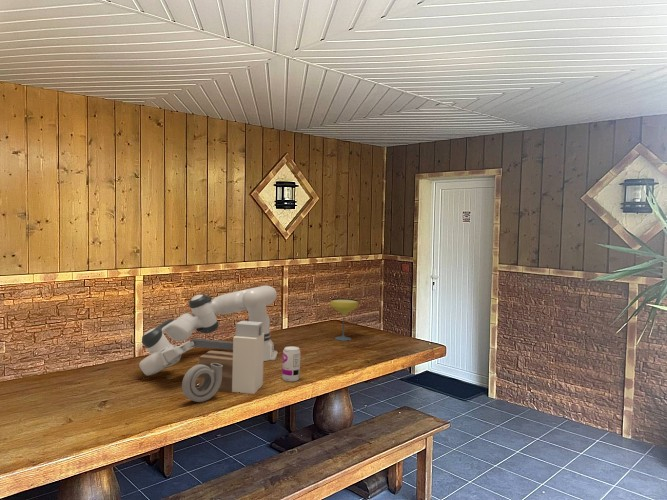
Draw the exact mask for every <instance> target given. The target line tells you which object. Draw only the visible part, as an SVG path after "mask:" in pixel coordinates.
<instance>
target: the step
mask: <svg viewBox="0 0 667 500" xmlns="http://www.w3.org/2000/svg"><path fill="white" fill-rule="evenodd" d="M211 363H218V364H221V365H223V367H222V381H221V385H220V387H219V389H218V391H221V392H229V393H231V392H232V371H233V351H224V350H223V351H221V350H220V351H219V350H209V351H207V352H206V353H204V354H202V355H200V356H199V357H198V365H199V364H202V365H205V366H208V367H209V368H210V369H211V365H210V364H211ZM204 380H205V375H204V373H203V374H201V375H199V376H198V388H199V387H201V386H202V385H203V383H204ZM218 391H217V392H218ZM232 393H233V392H232Z"/></svg>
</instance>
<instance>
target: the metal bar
mask: <svg viewBox="0 0 667 500" xmlns="http://www.w3.org/2000/svg"><path fill="white" fill-rule="evenodd" d="M189 341H190V342H192V341H194V342H195V345H193V346H192V347H194V348H207V349H214V350H215V349H216V350H229V351H233V341H231V340H217V339H208V338H207V339H205V338H194V337H193V338H191V339H190V340H189Z"/></svg>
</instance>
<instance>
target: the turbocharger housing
mask: <svg viewBox="0 0 667 500" xmlns="http://www.w3.org/2000/svg"><path fill="white" fill-rule="evenodd" d="M210 365H211V369H210V368H209V367H208V366H205V365H202V364H199V363H198V364H195V365H193V366H192V367H190V368H189V369H188V370H187V371H186V373H185V374H184V376H183V378H182V382H181V390H182V392H183V394H184V397H186V398H187V399H189V400H191V401H193V402H195V403H203V402H206V401H209V400H210V399H212V397H214V396H215V394H216V393H217V392H218V389H219V387H220V385H221V381H222V367H223V365H221V364H218V363H211V364H210ZM203 373H204V375H205V380H204V383H203V385H202V386H201V387H199V386H198V387H197V388H196V381H197V379H198V378H199V375H201V374H203Z"/></svg>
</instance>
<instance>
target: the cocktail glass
mask: <svg viewBox="0 0 667 500" xmlns="http://www.w3.org/2000/svg"><path fill="white" fill-rule="evenodd" d="M329 303H330V307H331V308H332V309H334V310H335V311H337V312H339V313H340V315H341V316H342V317H343V320H342V321H343V322H342V323H343V324H342V334H341V335H340V336H336V337H335V338H334V340H337V341H340V340H341V342H348V341H347V340H349V341H351V340H352V338H351V337H349V336H345V317H346V316H347V315H348V314H349V313H351V312H353V311H355V310H356V309H357V308H359V300H358V299H354V298H344V297H342V298H341V297H340V298H339V297H338V298H332V299H331V300H330V302H329Z"/></svg>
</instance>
